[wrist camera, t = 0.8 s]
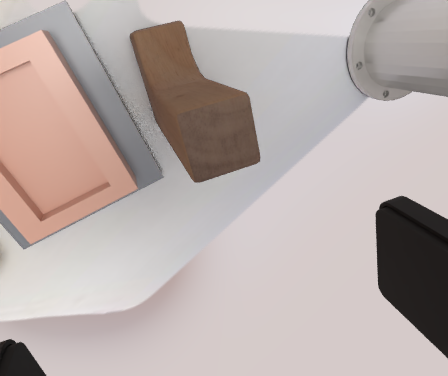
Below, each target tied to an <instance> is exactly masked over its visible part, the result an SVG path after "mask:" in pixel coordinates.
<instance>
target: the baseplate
mask: <svg viewBox="0 0 448 376" xmlns="http://www.w3.org/2000/svg"><path fill="white" fill-rule="evenodd" d="M161 178H163V175H162V173H161V171H160V169H159V167H158V165H157V163H156V162H155V160H154V158H153V156H152V154H151V153H150V151H149V149H148V147H147V145H146V144H145V142H144V140H143V138H142V136H141V135H140V133H139V131H138V129H137V127H136V126H135V124H134V122H133V120H132V118H131V117H130V115H129V113H128V111H127V109H126V108H125V106H124V104H123V102H122V100H121V99H120V97H119V95H118V93H117V91H116V90H115V88H114V86H113V84H112V82H111V81H110V79H109V77H108V75H107V73H106V72H105V70H104V68H103V66H102V64H101V63H100V61H99V59H98V57H97V55H96V54H95V52H94V50H93V48H92V46H91V44H90V43H89V41H88V39H87V37H86V35H85V34H84V32H83V30H82V28H81V26H80V25H79V23H78V21H77V19H76V17H75V16H74V14H73V12H72V10H71V8H70V7H69V5H68V3H67V2H66V1H63V2H61V3H59V4H56V5H54V6H52V7H50V8H47V9H45V10H43V11H41V12H38V13H36V14H34V15H32V16H29V17H27V18H25V19H23V20H20V21H18V22H16V23H14V24H12V25H9V26H7V27H5V28H3V29H0V223H1V224H2V225H3V227H4V228H5V229H6V230H7V231H8V232H9V233H10V234H11V236H12V237H13V238H14V239H15V240H16V241H17V242H18V244H19V245H20V246H21V247H22V248H23V249H26V248H28V247H30V246H32V245H34V244H36V243H38V242H39V241H41V240H43V239H45V238H47V237H49V236H51V235H53V234H55V233H57V232H59V231H61V230H63V229H65V228H67V227H68V226H70V225H72V224H74V223H76V222H78V221H80V220H82V219H84V218H86V217H88V216H90V215H92V214H94V213H96V212H97V211H99V210H101V209H103V208H105V207H107V206H109V205H111V204H113V203H115V202H117V201H119V200H121V199H123V198H125V197H126V196H128V195H130V194H132V193H134V192H136V191H138V190H140V189H142V188H144V187H146V186H148V185H150V184H152V183H154V182H155V181H157V180H159V179H161Z"/></svg>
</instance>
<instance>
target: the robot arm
mask: <svg viewBox="0 0 448 376" xmlns="http://www.w3.org/2000/svg"><path fill="white" fill-rule="evenodd" d="M347 61H348V67H349V72H350V74H351V77H352V80H353V81H354V83H355V85H356V86H357V88H358V89H359V90H360V91H361V92H362V93H364V94H365V95H367V96H369V97H371V98H374V99H378V100H384V101H387V100H395V99H398V98H401V97H404V96H406V95H407V94H409V93H411V92H412V91H415V92H421V93H428V94H434V95H440V96H447V97H448V0H369V1H368V2H367V3H366V4H365V5H364V6H363V8H362V10H361V11H360V13H359V14H358V16H357V18H356V20H355V22H354V24H353V27H352V30H351V33H350V36H349V41H348V48H347ZM376 239H377V265H378V266H377V267H378V286H379V289H380V291H381V293H382V295H383V296H384V297H385V298H386V299H387V300H388V301H389V302H390V303H391V304H392V305H393V306H394V307H395V308H396V309H397V310H398V311H399V312H400V313H401V314H402V315H403V316H404V317H405V318H407V319H408V320H409V321H410V322H411V323H412V324H413V325H414V326H415V327H416V328H417V329H418V330H419V331H420V332H421V333H422V334H423V335H424V336H425V337H426V338H427V339H428V340H429V341H430V342H431V343H433V344H434V345H435V346H436V347H437V348H438V349H439V350H440V351H441V352H442V353H443V354H444V355H445V356H446V357H447V358H448V219H446V218H444V217H442V216H440V215H439V214H437V213H435V212H433V211H431V210H429V209H427V208H426V207H424V206H422V205H420V204H418V203H416V202H414V201H412V200H411V199H409V198H407V197H404V196H399V197H396V198H394V199H391V200H388V201H386V202H383V203H382V204H381V205H380V207H379V210H378V211H377V212H376ZM0 376H46V374H45V373H44V372H43V370H42V369H41V368H40V366H39V364H38V363H37V361H36V360H35V359H34V357H33V356H32V354H31V353H30V351H29V350H28V349H27V347H26V346H25V345H24V343H22V342H19V343H16V342H15V341H14V340H11V339H9V340H6V341H3V342H0Z"/></svg>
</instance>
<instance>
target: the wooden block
mask: <svg viewBox="0 0 448 376" xmlns="http://www.w3.org/2000/svg"><path fill="white" fill-rule="evenodd" d="M130 39H131V43H132V46H133V49H134V52H135V55H136V59H137V62H138V65H139V68H140V72H141V75H142V78H143V81H144V84H145V88H146V91H147V94H148V97H149V100H150V104H151V107H152V110H153V113H154V116H155V120H156V122H157V124H158V126H159V127H160V129H161V131H162V132H163V134H164V135H165V137H166V139H167V140H168V142H169V143H170V145H171V146H172V148H173V150H174V151H175V153H176V154H177V156H178V158H179V159H180V161H181V162H182V164H183V166H184V167H185V169H186V171H187V172H188V174H189V175H190V177H191V179H192V180H193V181H194V182H196V183H197V182H203V181H206V180H209V179H212V178H215V177H218V176H221V175H224V174H227V173H230V172H233V171H236V170H239V169H242V168H245V167H248V166H251V165H254V164H257V163H258V162H260V152H259V147H258V141H257V136H256V130H255V125H254V120H253V114H252V109H251V103H250V98H249V96H248V94H247V93H246V92H243V91H240V90H237V89H234V88H231V87H228V86H225V85H222V84H220V83H217V82H214V81H211V80H208V79H205V78H204V77H203V75H202V74H201V73H200V72H199V70H198V67H197V65H196V63H195V60H194V58H193V56H192V53H191V49H190V46H189V42H188V38H187V35H186V31H185V28H184V25H183V23H182V22H181V21H175V22H171V23H167V24H162V25H158V26H154V27H150V28H146V29H142V30H137V31H134V32H133V33H131V34H130Z"/></svg>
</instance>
